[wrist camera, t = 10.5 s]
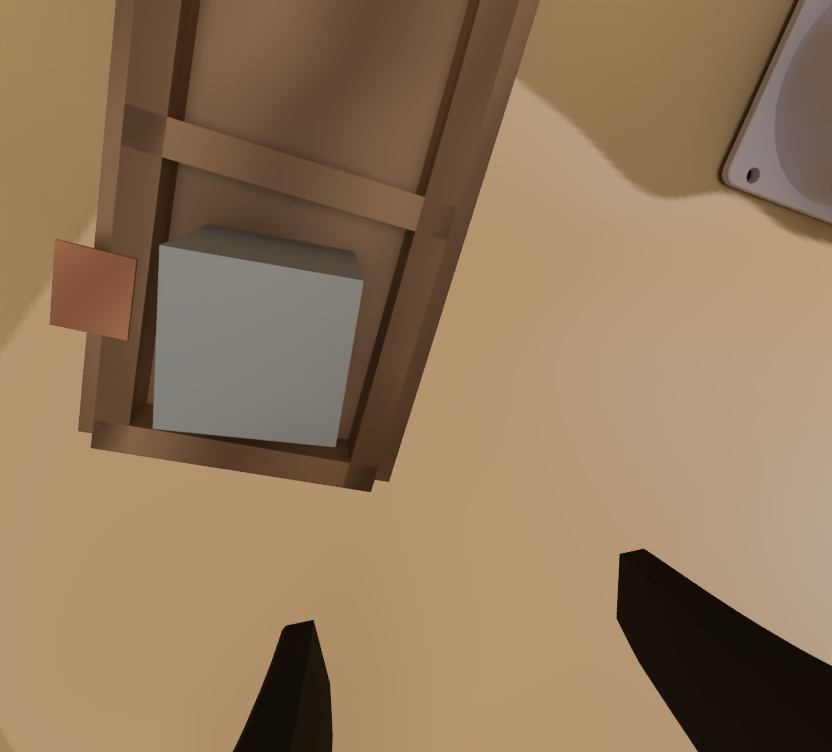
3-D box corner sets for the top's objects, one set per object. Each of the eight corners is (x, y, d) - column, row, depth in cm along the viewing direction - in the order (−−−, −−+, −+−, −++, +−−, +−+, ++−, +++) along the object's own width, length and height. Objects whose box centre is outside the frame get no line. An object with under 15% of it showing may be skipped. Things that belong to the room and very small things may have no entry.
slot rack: (570, -124, 15) (617, -181, 12) (386, 471, 21) (394, 509, 19) (145, -342, 12) (100, -470, 10) (79, 419, 18) (41, 456, 16)
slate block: (353, 251, 17) (364, 280, 12) (333, 378, 18) (335, 447, 14) (207, 224, 16) (159, 245, 11) (198, 360, 17) (153, 428, 13)
